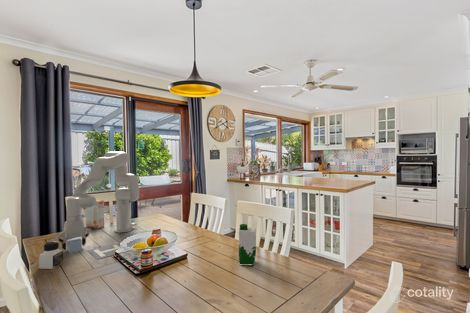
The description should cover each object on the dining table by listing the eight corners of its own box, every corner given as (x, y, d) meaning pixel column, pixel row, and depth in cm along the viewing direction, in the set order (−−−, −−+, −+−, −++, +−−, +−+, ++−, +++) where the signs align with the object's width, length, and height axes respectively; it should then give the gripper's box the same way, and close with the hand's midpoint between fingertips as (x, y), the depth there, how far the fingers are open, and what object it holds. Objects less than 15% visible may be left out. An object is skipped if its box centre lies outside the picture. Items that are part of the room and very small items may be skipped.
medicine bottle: (53, 269, 123) (52, 245, 123) (38, 269, 124) (38, 244, 123) (63, 263, 130) (63, 240, 130) (50, 262, 131) (49, 239, 130)
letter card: (119, 243, 160) (119, 242, 160) (130, 250, 148) (130, 250, 148) (87, 251, 147) (87, 250, 147) (97, 259, 135) (97, 259, 135)
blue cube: (78, 247, 152) (78, 237, 152) (81, 250, 148) (81, 240, 148) (67, 250, 148) (67, 240, 148) (69, 253, 144) (69, 242, 143)
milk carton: (240, 258, 137) (240, 222, 137) (256, 260, 136) (257, 223, 135) (237, 265, 129) (237, 227, 129) (254, 267, 127) (255, 228, 127)
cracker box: (104, 227, 194) (104, 200, 194) (97, 229, 188) (97, 201, 188) (92, 224, 200) (92, 198, 200) (85, 226, 194) (85, 199, 194)
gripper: (88, 214, 156) (88, 242, 156) (55, 219, 144) (54, 249, 144) (92, 216, 151) (92, 245, 151) (58, 222, 139) (58, 253, 139)
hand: (74, 247), depth 148 cm, fingers open, 9 cm apart
